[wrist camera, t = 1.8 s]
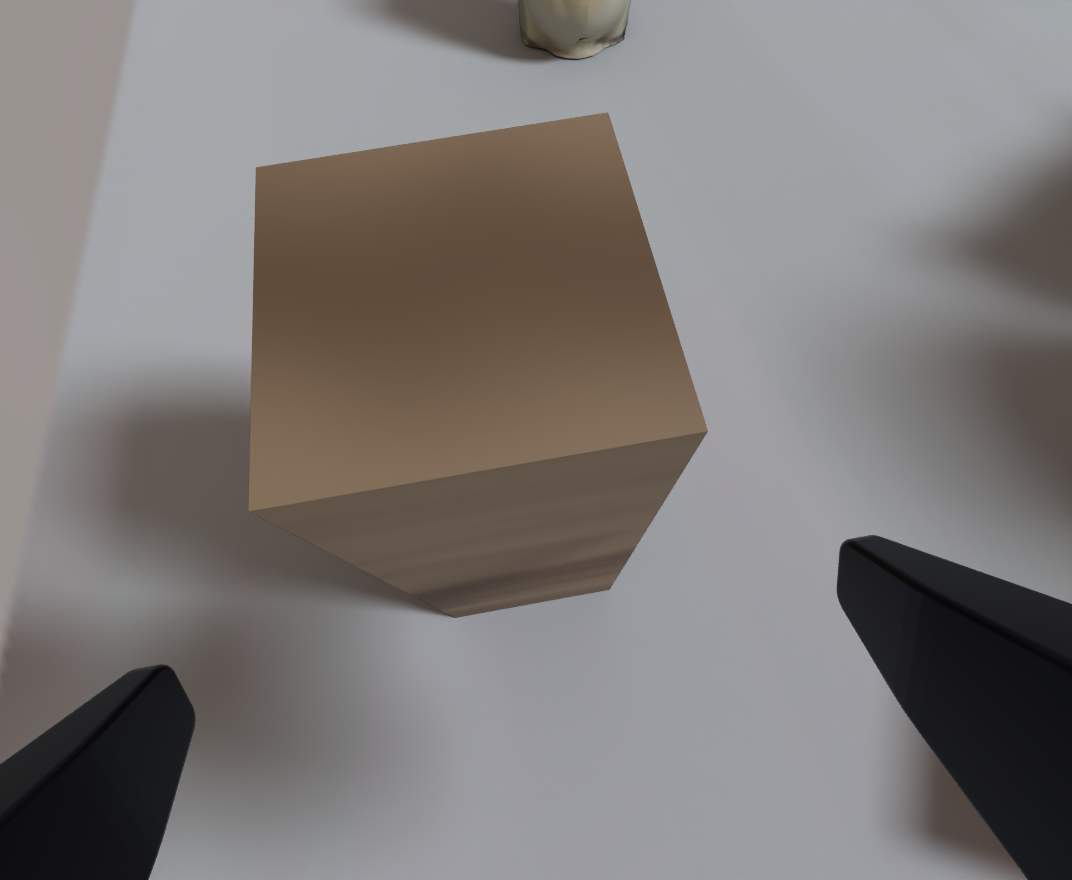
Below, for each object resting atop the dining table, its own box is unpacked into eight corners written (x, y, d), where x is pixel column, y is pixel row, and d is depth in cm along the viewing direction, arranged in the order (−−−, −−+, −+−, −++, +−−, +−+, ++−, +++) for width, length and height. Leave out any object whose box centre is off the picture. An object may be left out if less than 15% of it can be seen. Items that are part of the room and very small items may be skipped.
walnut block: (609, 589, 18) (707, 430, 6) (454, 617, 18) (247, 511, 6) (578, 447, 20) (607, 113, 8) (438, 471, 20) (256, 167, 8)
